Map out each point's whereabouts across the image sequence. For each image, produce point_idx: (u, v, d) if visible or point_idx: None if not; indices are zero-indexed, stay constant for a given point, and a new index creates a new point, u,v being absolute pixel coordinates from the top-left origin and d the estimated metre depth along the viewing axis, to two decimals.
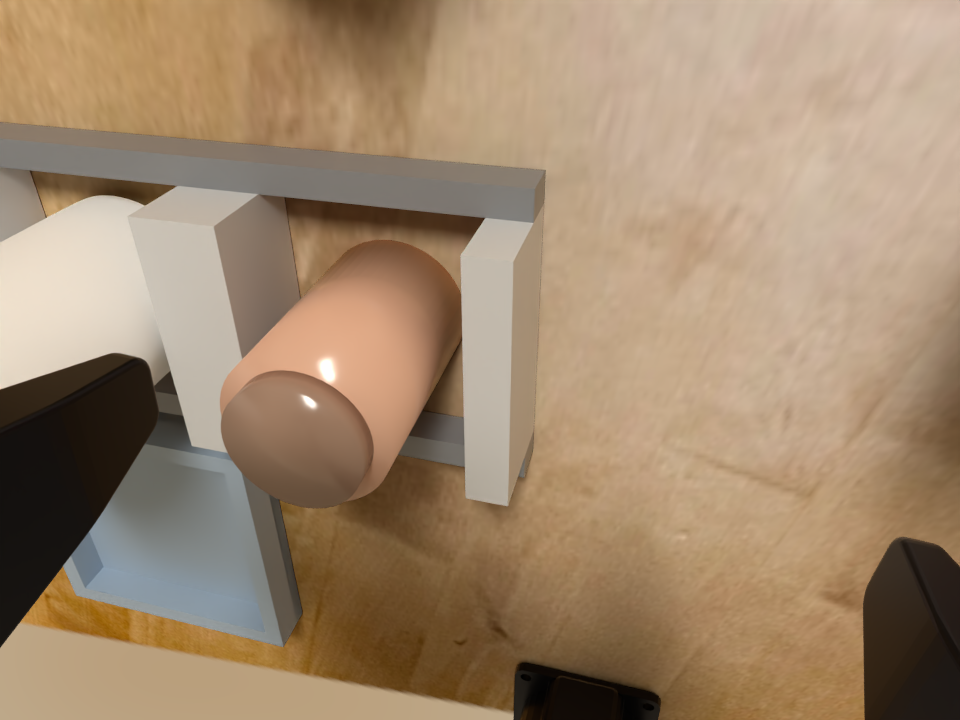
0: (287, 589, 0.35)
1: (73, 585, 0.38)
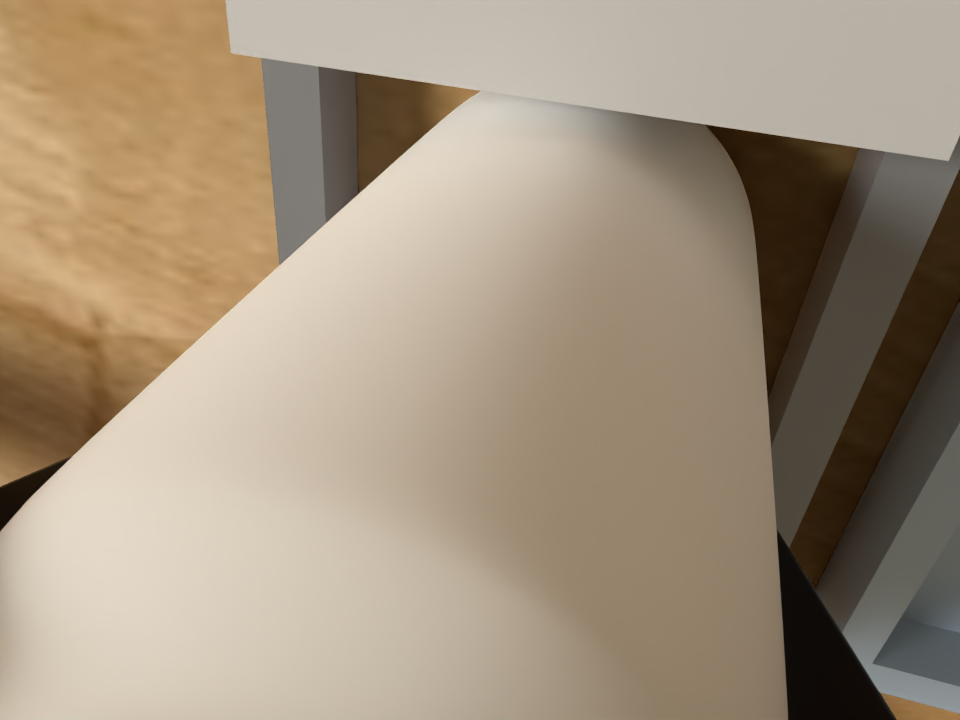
0: None
1: None
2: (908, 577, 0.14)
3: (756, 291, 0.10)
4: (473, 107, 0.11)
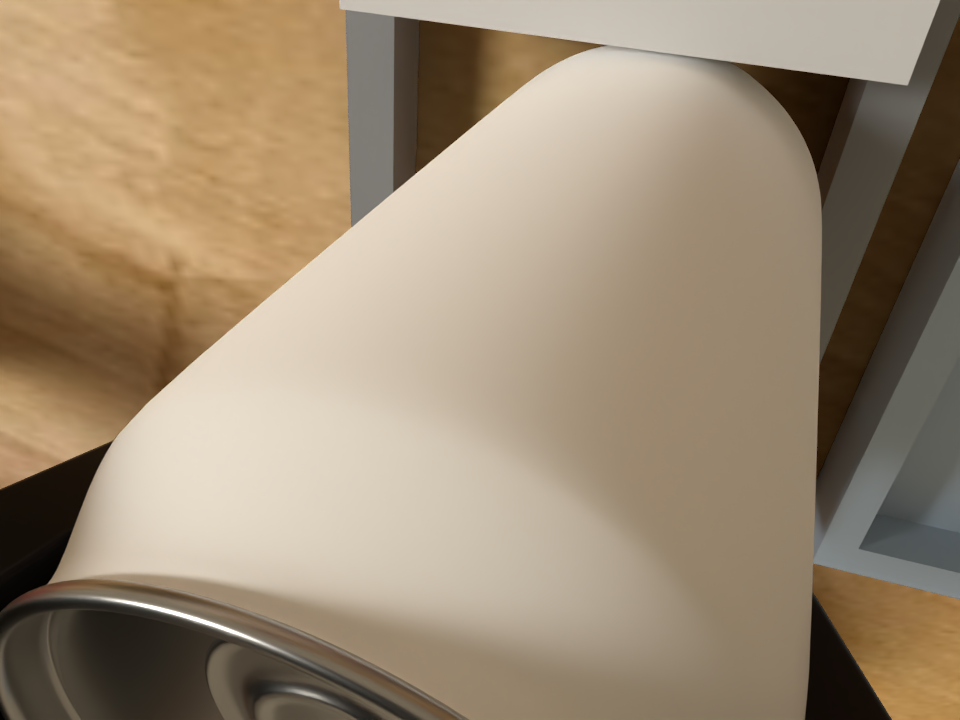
0: None
1: None
2: (887, 465, 0.16)
3: (814, 257, 0.10)
4: (541, 80, 0.12)
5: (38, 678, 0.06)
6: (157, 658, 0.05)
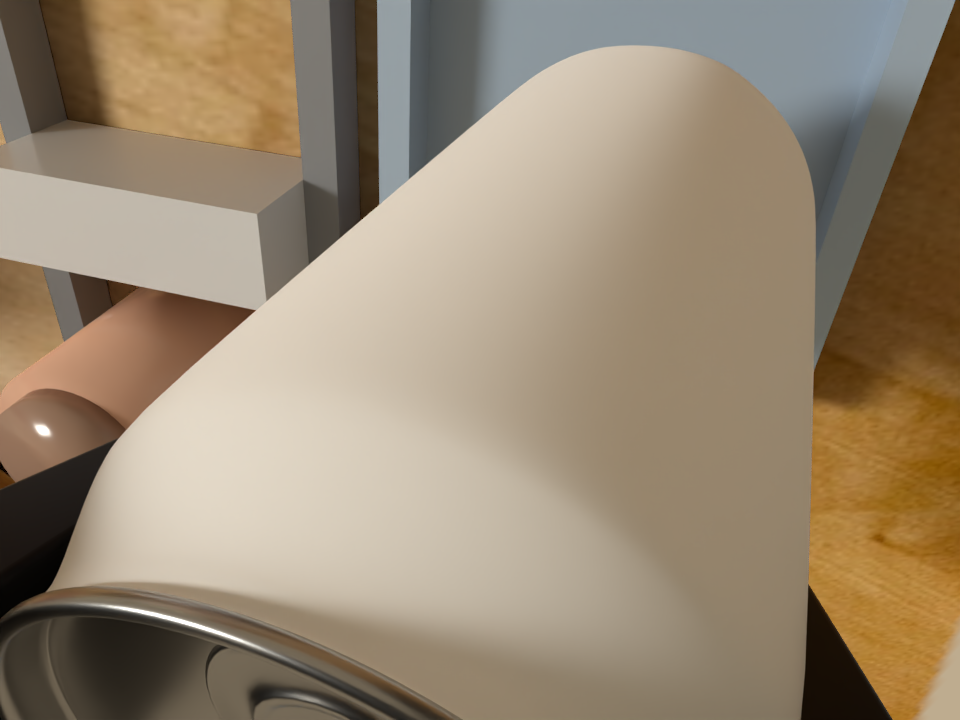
0: None
1: None
2: None
3: (808, 258, 0.10)
4: (536, 83, 0.12)
5: (38, 683, 0.06)
6: (158, 665, 0.05)
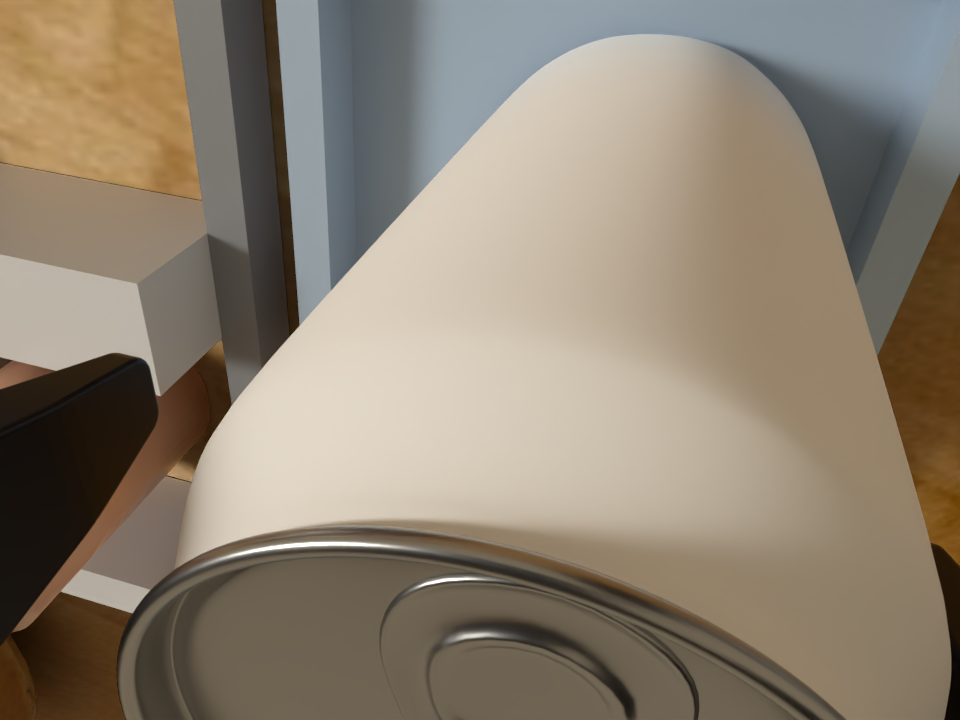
0: None
1: None
2: None
3: None
4: (558, 68, 0.12)
5: (154, 668, 0.06)
6: (320, 623, 0.05)
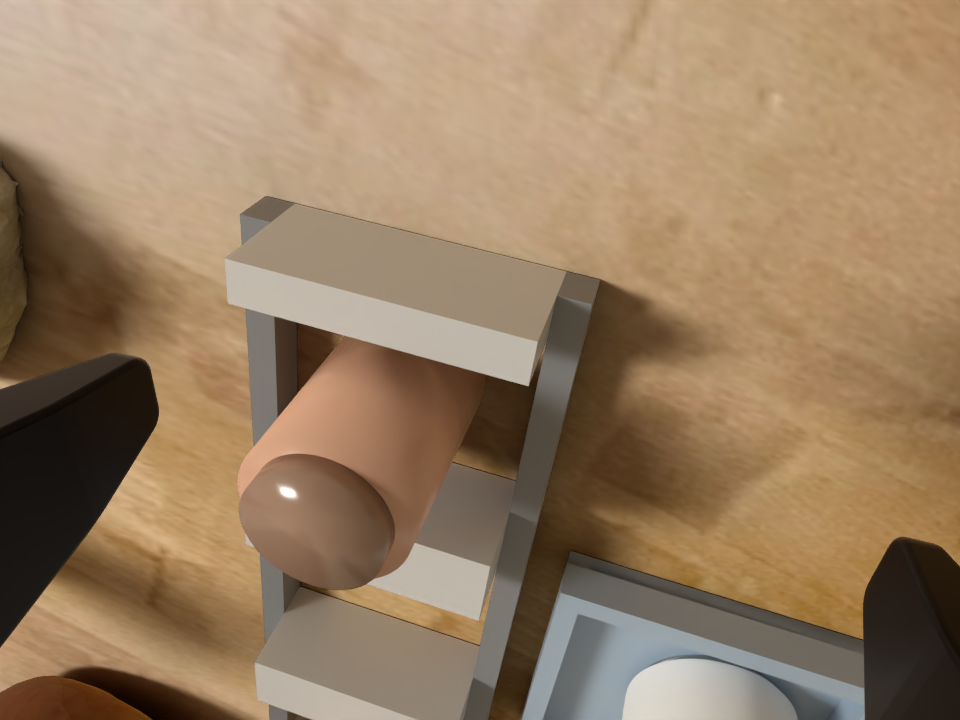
0: (818, 644, 0.26)
1: None
2: None
3: None
4: (687, 704, 0.26)
5: None
6: None
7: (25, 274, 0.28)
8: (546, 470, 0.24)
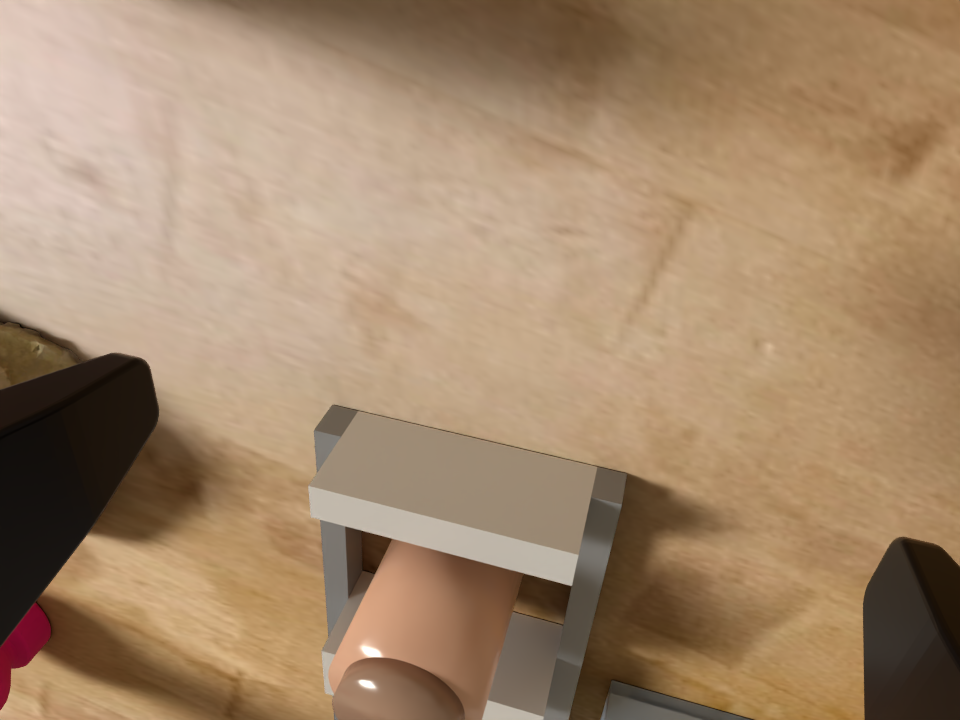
0: None
1: None
2: None
3: None
4: None
5: None
6: None
7: None
8: (588, 626, 0.28)
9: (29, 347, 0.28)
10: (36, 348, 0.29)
